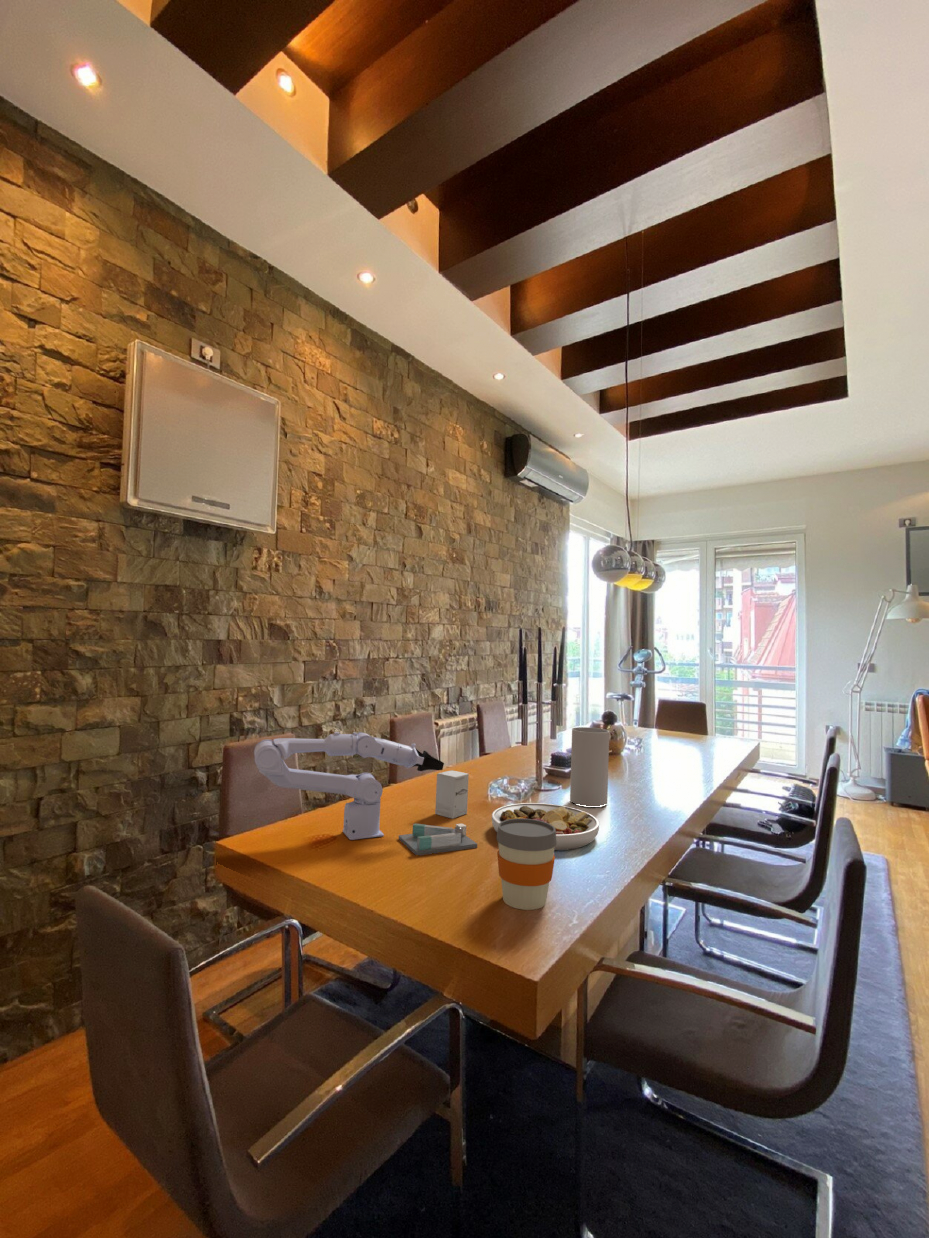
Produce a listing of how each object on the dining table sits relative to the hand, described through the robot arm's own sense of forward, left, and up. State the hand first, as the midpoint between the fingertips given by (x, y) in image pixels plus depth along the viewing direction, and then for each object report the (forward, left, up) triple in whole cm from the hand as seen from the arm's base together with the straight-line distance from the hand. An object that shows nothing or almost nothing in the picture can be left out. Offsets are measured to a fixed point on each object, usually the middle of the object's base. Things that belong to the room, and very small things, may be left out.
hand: (438, 764), depth 166 cm
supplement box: (+10, +11, -18) cm, 23 cm away
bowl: (+27, -15, -18) cm, 36 cm away
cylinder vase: (+60, +7, -18) cm, 63 cm away
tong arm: (-6, -10, -17) cm, 20 cm away
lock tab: (+3, -11, -17) cm, 20 cm away
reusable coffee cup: (-1, -49, -18) cm, 52 cm away
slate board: (-5, -12, -18) cm, 22 cm away
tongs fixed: (-6, -16, -17) cm, 24 cm away
